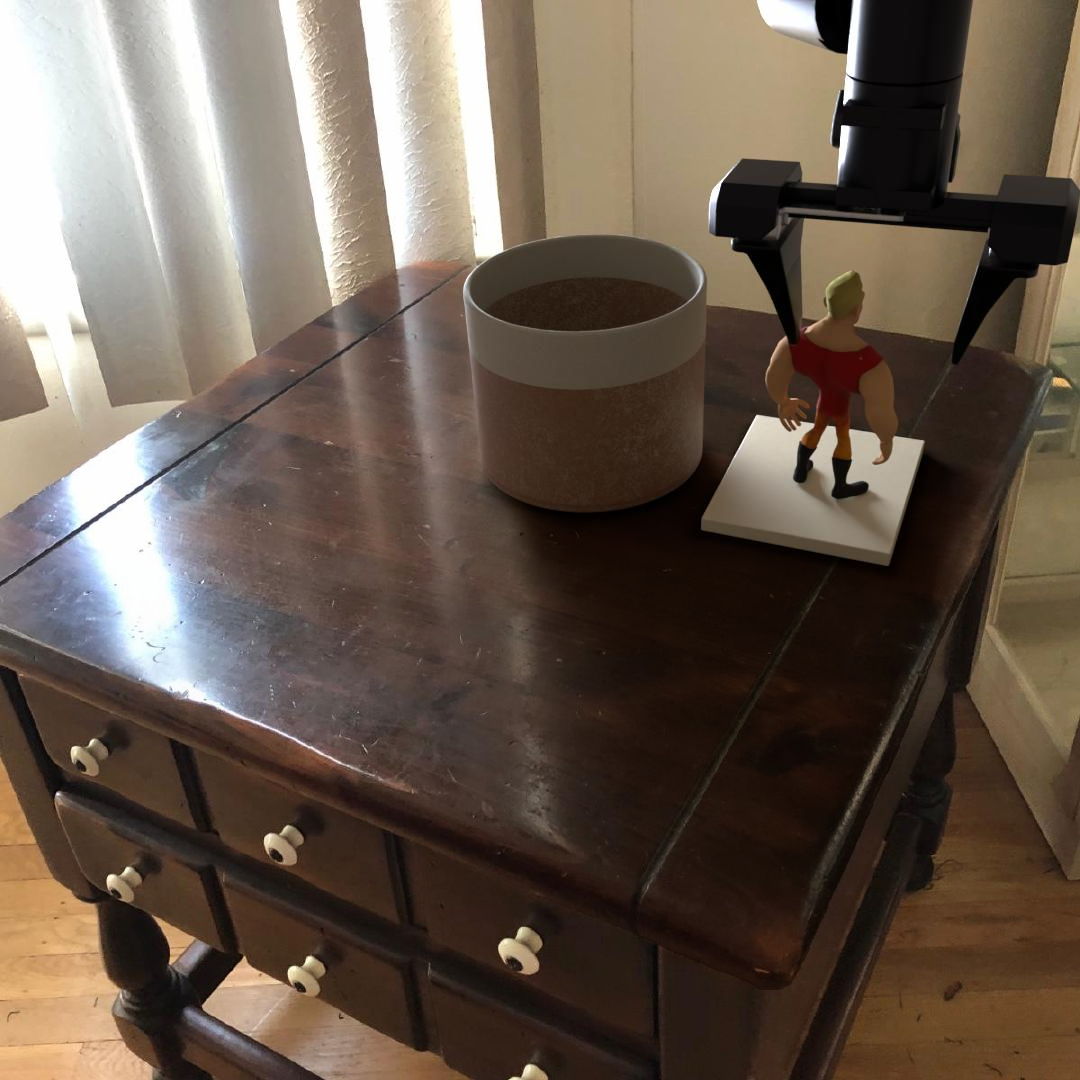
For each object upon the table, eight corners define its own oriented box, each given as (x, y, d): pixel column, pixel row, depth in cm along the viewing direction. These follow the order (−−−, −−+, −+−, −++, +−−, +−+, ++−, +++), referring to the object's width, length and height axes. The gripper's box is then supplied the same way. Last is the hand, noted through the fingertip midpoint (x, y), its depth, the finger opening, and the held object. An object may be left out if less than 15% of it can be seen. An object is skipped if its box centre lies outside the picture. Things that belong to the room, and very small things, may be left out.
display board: (923, 452, 81) (925, 440, 81) (888, 566, 71) (890, 553, 70) (755, 426, 85) (756, 414, 85) (700, 530, 75) (701, 518, 75)
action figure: (903, 497, 75) (936, 282, 66) (873, 522, 73) (904, 303, 64) (782, 449, 81) (798, 244, 72) (752, 470, 79) (764, 263, 70)
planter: (709, 408, 88) (715, 234, 80) (692, 528, 75) (697, 337, 67) (507, 399, 91) (492, 231, 83) (458, 514, 78) (435, 329, 70)
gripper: (1109, 40, 61) (1053, 313, 70) (762, 33, 68) (752, 283, 77) (1102, 95, 53) (1040, 397, 62) (708, 81, 60) (703, 355, 68)
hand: (873, 351), depth 67 cm, fingers open, 9 cm apart
